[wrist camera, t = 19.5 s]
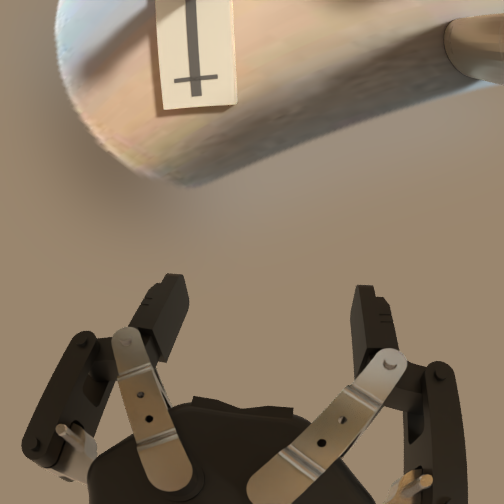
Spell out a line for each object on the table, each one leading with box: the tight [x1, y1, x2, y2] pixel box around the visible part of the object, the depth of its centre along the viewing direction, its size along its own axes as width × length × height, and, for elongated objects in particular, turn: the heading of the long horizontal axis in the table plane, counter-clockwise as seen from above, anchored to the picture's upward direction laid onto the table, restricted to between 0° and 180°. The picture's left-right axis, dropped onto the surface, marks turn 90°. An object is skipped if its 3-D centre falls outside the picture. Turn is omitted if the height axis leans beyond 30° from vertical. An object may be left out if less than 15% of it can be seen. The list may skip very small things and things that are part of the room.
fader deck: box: [155, 0, 238, 110], centre depth 32 cm, size 10×22×2 cm, turn 2°
